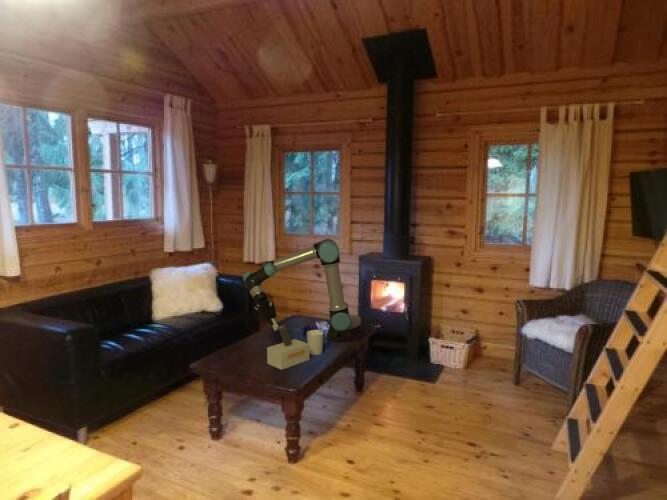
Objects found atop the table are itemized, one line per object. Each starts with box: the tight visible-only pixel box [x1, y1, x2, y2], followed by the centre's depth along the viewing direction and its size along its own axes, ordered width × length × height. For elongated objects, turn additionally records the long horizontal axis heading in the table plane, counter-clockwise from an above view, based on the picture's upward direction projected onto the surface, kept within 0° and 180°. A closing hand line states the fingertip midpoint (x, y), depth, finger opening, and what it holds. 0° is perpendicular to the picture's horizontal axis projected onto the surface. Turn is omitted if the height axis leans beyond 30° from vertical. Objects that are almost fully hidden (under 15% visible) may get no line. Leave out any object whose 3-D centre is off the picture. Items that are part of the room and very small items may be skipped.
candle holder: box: [306, 329, 324, 356], centre depth 267 cm, size 10×10×12 cm
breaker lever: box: [277, 324, 292, 346], centre depth 254 cm, size 5×2×11 cm, turn 135°
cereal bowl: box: [348, 314, 362, 331], centre depth 314 cm, size 17×17×7 cm
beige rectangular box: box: [266, 338, 310, 370], centre depth 253 cm, size 20×12×9 cm, turn 135°
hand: (276, 329), depth 258 cm, fingers closed
